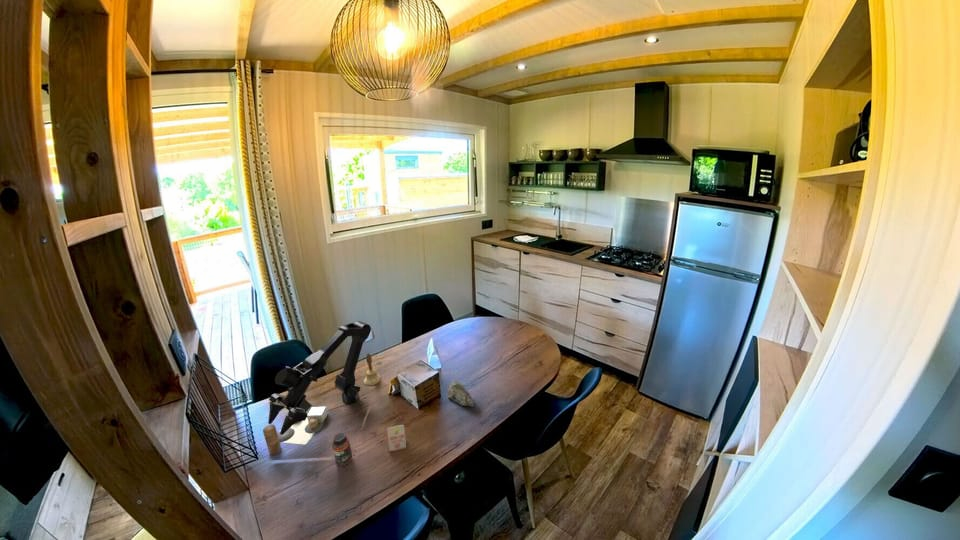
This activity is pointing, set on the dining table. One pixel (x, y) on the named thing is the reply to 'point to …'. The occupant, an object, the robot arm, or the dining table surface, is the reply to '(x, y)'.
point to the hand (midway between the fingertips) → (275, 428)
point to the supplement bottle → (342, 449)
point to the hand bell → (371, 373)
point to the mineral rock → (459, 394)
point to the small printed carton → (396, 438)
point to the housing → (317, 414)
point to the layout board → (300, 432)
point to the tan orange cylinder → (272, 439)
